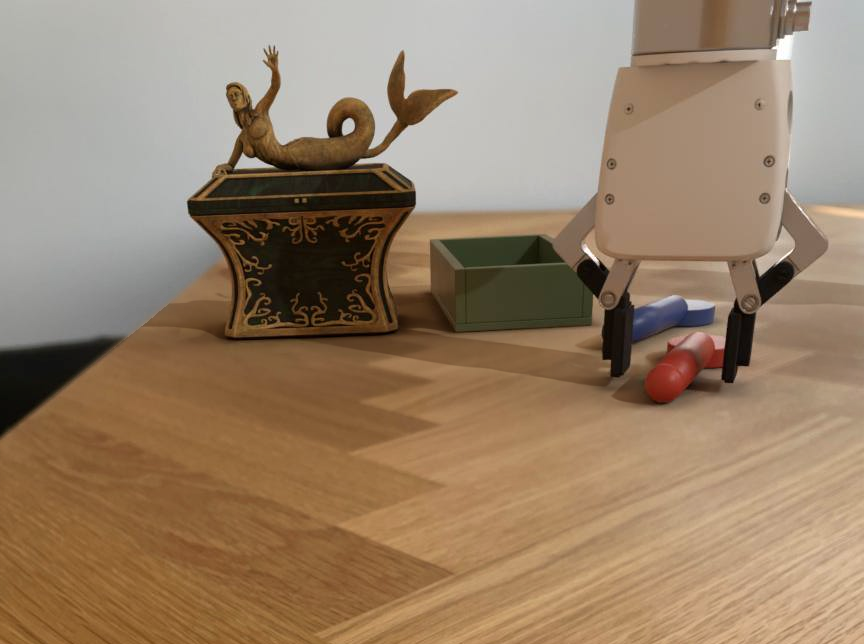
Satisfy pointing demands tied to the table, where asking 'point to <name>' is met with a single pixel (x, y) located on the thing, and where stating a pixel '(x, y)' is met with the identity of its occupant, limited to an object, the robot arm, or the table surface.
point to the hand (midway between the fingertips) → (674, 372)
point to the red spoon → (683, 364)
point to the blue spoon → (669, 316)
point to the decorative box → (311, 217)
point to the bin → (506, 284)
